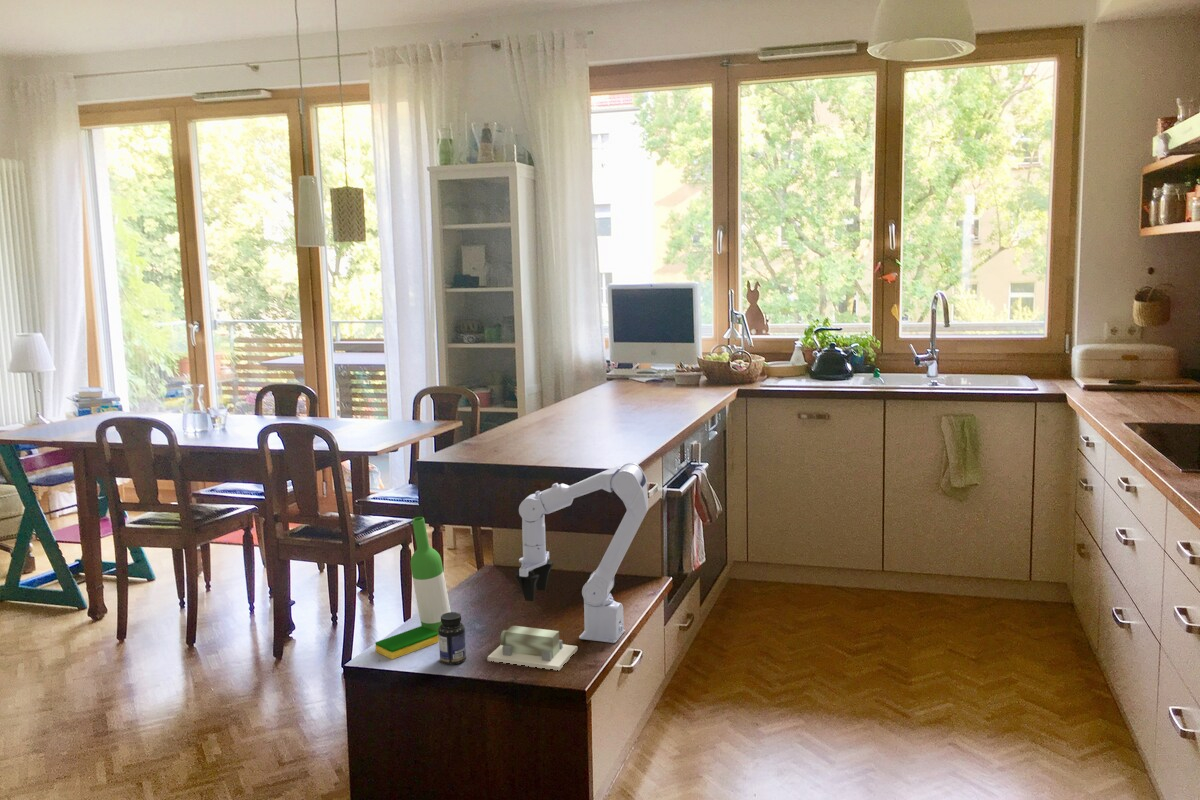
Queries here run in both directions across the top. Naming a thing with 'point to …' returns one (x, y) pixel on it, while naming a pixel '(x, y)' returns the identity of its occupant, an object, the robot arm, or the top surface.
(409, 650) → the dish sponge
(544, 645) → the tall single-stud brick
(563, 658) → the cradle jig
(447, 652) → the pill bottle
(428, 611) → the wine bottle
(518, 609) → the top surface
